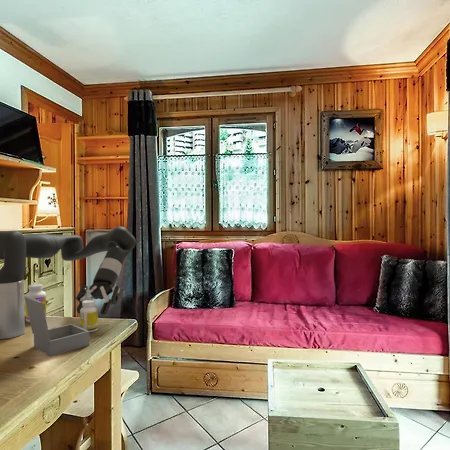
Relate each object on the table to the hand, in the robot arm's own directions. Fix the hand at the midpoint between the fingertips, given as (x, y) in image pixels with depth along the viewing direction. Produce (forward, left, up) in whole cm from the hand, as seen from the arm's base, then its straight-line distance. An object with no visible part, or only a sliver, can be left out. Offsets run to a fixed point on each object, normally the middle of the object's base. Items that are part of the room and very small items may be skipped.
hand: (90, 313), depth 116 cm
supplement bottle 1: (-26, -8, -6) cm, 28 cm away
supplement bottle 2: (0, -1, -6) cm, 6 cm away
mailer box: (+7, -14, -5) cm, 16 cm away
